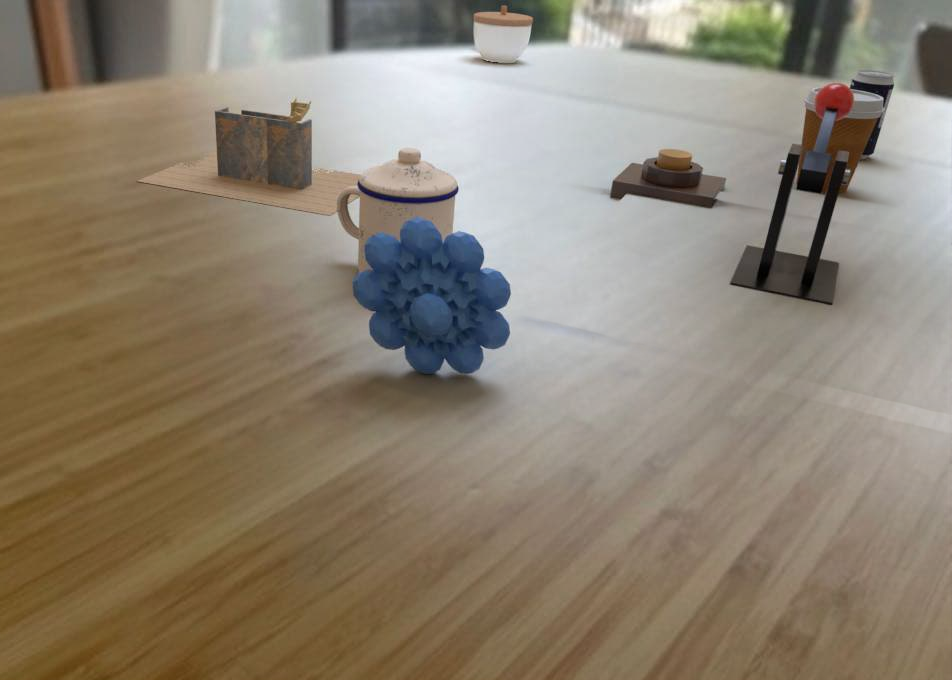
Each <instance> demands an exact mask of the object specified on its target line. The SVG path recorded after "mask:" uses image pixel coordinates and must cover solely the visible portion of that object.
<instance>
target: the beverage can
mask: <svg viewBox="0 0 952 680" xmlns="http://www.w3.org/2000/svg"><path fill="white" fill-rule="evenodd" d="M894 76H895V75H894V74H893V73H890V72H885V71H880V70H873V69H858V70H857V71H856V74H855V76H854V77H853V78H852V79H851V82H850V85H849V88H850V89H853V90H859V91H865V92H869V93H873V94H877V95H879V96H881V97H883V98H884V100H883V108H884V109H885V110H884V112H883V113H881V116H880V117H878V119H877V121H876V124H875V126H874V129H873V131H872V133H871V135H870V138H869V140H868V142H867V145H866V147H865V149H864V151H863V154H862V156H861V158H860V160H867V158H868V157H871V155H873V154H874V153H875V149H876V147H877V143H878V141H879V137H880V133H881V130H882V127H883V123H884V120H885V117H886V114H887V110H888V107H889V104H890V100H891V98H892V94H893V90H894V86H895V82H894V78H895V77H894Z"/></svg>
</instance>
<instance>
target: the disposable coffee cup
mask: <svg viewBox="0 0 952 680" xmlns="http://www.w3.org/2000/svg"><path fill="white" fill-rule="evenodd" d="M823 87H824V86H820V87H813V88H811V89H810V91H809V93H808V94H807V97H805V98H804V100H803V101H804V103H805V104H804V107H805V115H804V123H803V129H802V137H801V138H802V139H801V144H800V145H803V150H802V153H801V157H800V161H799V165H798V169H797V173H796V182H795V184H796V185H797V183H798V179H799V175H800V171H801V168H802V164H803V161H804V158H805V154H806V151H813V150H814V147H815V143H816V140H817V137H818V133H819V130H820V126H821V123H822V120H823V119H821V118H820V117H819V116H818V115H817V114H816V112H815V109H814V100H815V97H816V95H817V93H818V92H819V91H820V90H821V89H822V88H823ZM851 90H852V92H853V95H854V105H853V108H852V110H851V111H850V112H849V114H848V115H847V116H845V117H844V118H842V119H840V120H837V121H835V122H834V126H833V129H832V133H831V136H830V140H829V144H828V147H827V151H826V153H827V154H832V156H831V160H830V164H829V167H828V171H827V175H826V178H825V182H824V185H823V189H822V192H821V194H822V193H823V194H826V191H827V187H828V184H829V180H830V177H831V173H832V170H833V166H834V163H835V159H836V155H837V152H838V150H840V151H847V152H849V157H848V162H847V166H846V169H850V170H851V172H850V176H849V179H848V183H847V185H842V184H841V187H840V190H839V194H844V193H846V192H847V191H848V188H849V185H850V183H851V181H852V179H853V177H854V174H855V172H856V169H857V167H858V165H859V163H860V161H861V159H860V158H861V156H862V154H863V151H864V149H865V147H866V145H867V142H868V140H869V138H870V135H871V133H872V131H873V129H874V126H875V124H876V121H877V119H878V117H880V116H881V113H883V112H884V110H885V109H884V108H883V100H884V98H883V97H881V96H879V95H877V94H873V93H869V92H865V91H859V90H853V89H851Z"/></svg>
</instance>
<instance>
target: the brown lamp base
mask: <svg viewBox="0 0 952 680" xmlns="http://www.w3.org/2000/svg"><path fill="white" fill-rule="evenodd" d="M657 158H658V156H655V157H649V158H646V159H645V160H644V161H643V163H638V162H637V163H636V162H631V163H630V164H628V165H627V167H625V168H624V169H623V170H622V171H621V172H620V173H619V174H618V175H617V176H616V177H615V178H614V179H612V183H611V188H610V189H611V190H610V195H609V198H612V199H617V200H622V199H623V198H624V197H625V196H627V194H630V195H636V196H641V197H646V198H652V199H653V198H654V199H659V200H663V201H664V200H665V201H671V202H675V203H679V204H680V203H682V204H687V205H692V206H698V207H703V208H709V209H712V208H713V207H714V205H715V203H716V202H717V200H718V199H717V197H716V196H717V195H718V193H719V192H721V193H722V192H723V190H724V189H725V187H726V182H727V177H722V176H716V175H710V174H704V173H703V171H704V167H703V166H702V165H700V164H698V163H697V162H694V161H691V165H690V169H688V170H673V169H667V168H663V167H660V166H657V165H656V164H657Z"/></svg>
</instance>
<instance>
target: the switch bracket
mask: <svg viewBox="0 0 952 680" xmlns="http://www.w3.org/2000/svg"><path fill="white" fill-rule="evenodd" d="M802 150H803V145H801V144H798V143H791V145H790V148H789V150H788V153H787V156H786V159H784V158H782V159H781V160H780V162H779V165H778V166H779V167H778V171H777V175H778V176H779V175H780V176H781V180H780V183H779V188H778V191H777V195H776V198H775V203H774V207H773V212H772V214H771V218H770V223H769V226H768V230H767V234H766V238H765V242H764V246H763V247H758V246H753V245H748V244H746V247H745V248H744V251H743V253H742V256H741V257H740V260H739V262H738V264H737V266H736V269H735V270H734V273H733V275H732V277H731V279H730V282H729V285H730V286H735V287H741V288H744V289H745V288H746V289H751V290H755V291H760V292H764V293H768V294H769V293H770V294H774V295H779V296H785V297H790V298H795V299H799V300H804V301H808V302H814V303H820V304H823V305H829V306H833V303H834V297H835V291H836V284H837V279H838V274H839V273H838V272H839V267H840V262H839V261H834V260H828V259H824V258H821V255H822V253H823V249H824V245H825V243H826V239H827V235H828V232H829V229H830V224H831V222H832V218H833V214H834V211H835V207H836V205H837V204H836V203H837V200H838V197H839V194H840V193H839V190H840V187H841V184H842V185H847V183H848V179H849V176H850V172H851V170H850V169H846V166H847V162H848V157H849V152H847V151H840V150H838V152H837V155H836V159H835V163H834V166H833V170H832V173H831V177H830V180H829V184H828V187H827V191H826V193H825V195H824V199H823V202H822V206H821V209H820V213H819V216H818V220H817V223H816V227H815V230H814V234H813V238H812V241H811V243H810V248H809V252H808V255H807V256H806V255H802V254H796V253H792V252H791V253H790V252H785V251H781V250H777V248H778V245H779V240H780V237H781V233H782V229H783V225H784V222H785V218H786V214H787V210H788V207H789V203H790V199H791V194H792V191H793V187H794V183H795V180H796V177H797V174H798V167H799V161H800V157H801V153H802Z"/></svg>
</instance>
